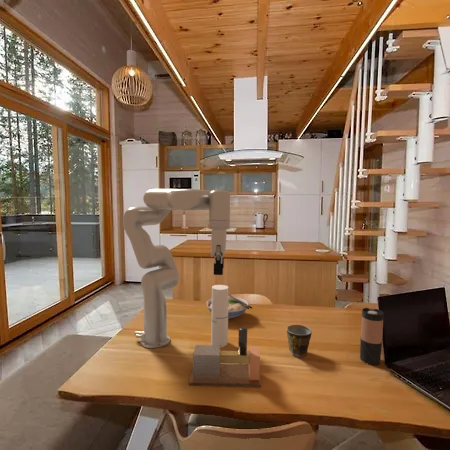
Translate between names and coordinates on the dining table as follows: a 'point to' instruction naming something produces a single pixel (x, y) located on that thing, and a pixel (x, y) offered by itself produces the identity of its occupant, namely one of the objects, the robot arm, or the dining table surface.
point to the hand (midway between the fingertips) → (218, 271)
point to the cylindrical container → (219, 315)
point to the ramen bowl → (233, 306)
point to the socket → (254, 363)
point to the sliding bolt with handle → (237, 356)
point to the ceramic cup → (298, 339)
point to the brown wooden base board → (218, 370)
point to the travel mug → (371, 336)
